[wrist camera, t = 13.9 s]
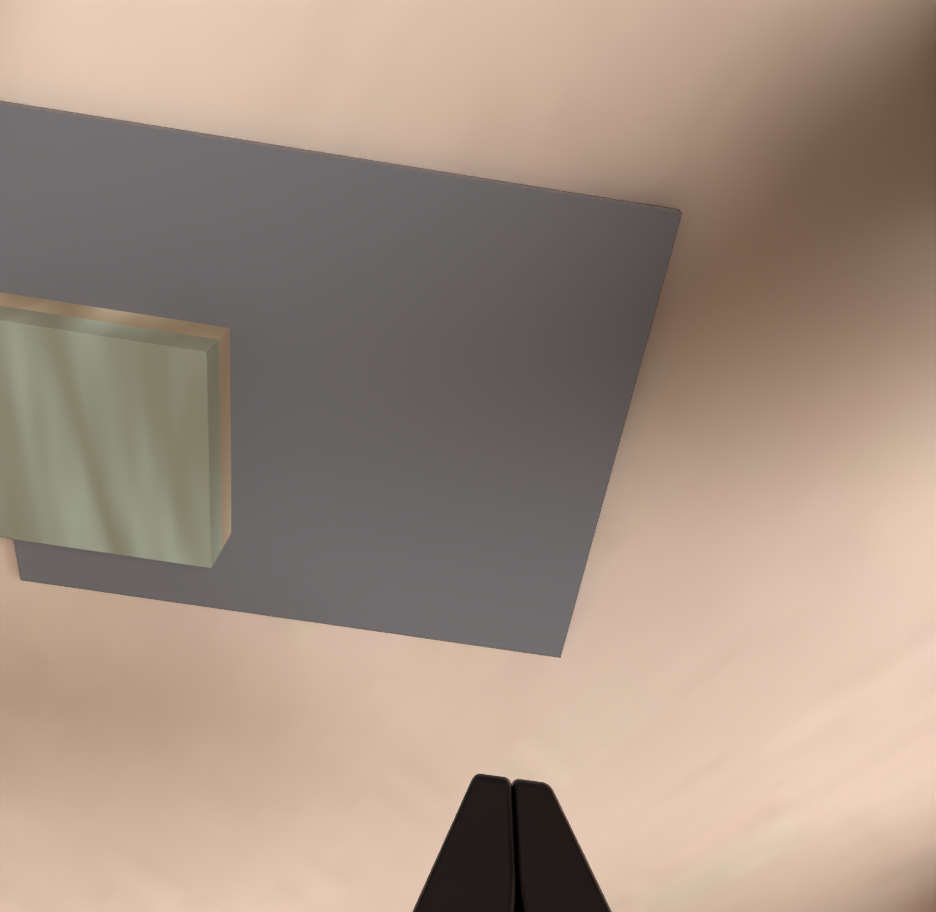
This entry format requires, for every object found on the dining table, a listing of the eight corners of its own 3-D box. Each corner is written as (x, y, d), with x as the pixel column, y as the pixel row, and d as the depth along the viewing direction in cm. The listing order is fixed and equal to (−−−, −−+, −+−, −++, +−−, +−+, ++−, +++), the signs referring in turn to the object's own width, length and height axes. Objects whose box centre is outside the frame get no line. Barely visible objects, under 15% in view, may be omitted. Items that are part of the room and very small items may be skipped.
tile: (206, 352, 17) (-68, 310, 17) (211, 568, 20) (-23, 534, 20) (229, 327, 18) (-23, 288, 18) (231, 533, 21) (13, 500, 21)
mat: (678, 209, 17) (681, 213, 16) (559, 648, 23) (560, 657, 23) (-54, 92, 16) (-67, 93, 16) (28, 571, 23) (20, 579, 22)
